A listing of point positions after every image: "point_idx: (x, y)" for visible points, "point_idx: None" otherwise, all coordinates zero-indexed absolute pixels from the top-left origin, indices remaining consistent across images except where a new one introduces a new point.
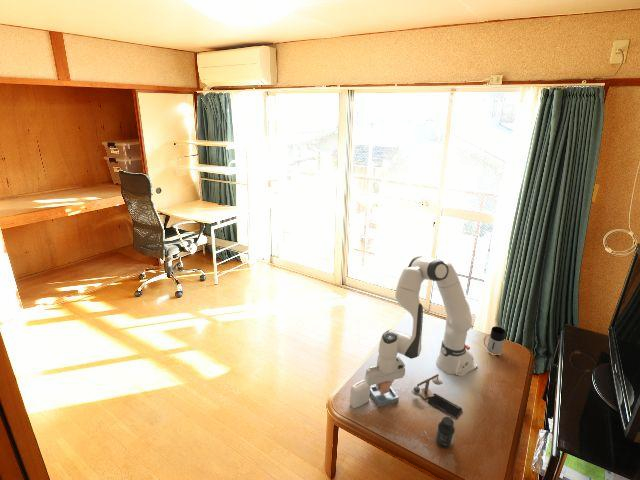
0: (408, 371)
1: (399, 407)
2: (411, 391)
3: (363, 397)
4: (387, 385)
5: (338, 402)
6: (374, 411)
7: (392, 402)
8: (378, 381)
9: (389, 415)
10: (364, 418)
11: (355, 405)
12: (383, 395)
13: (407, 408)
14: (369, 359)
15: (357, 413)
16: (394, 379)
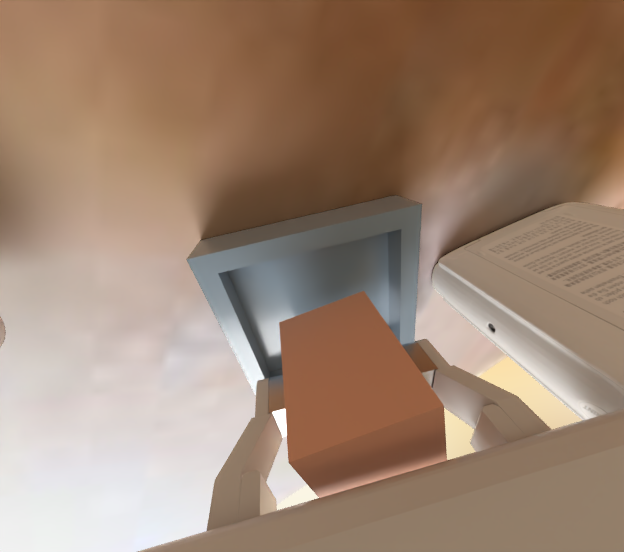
0: (84, 467)
1: (203, 162)
2: (2, 324)
3: (575, 256)
4: (337, 394)
5: None
6: (451, 149)
7: (262, 227)
8: (616, 494)
9: (343, 61)
10: (572, 77)
11: (594, 207)
12: (321, 297)
13: (105, 132)
14: (301, 486)
15: (576, 150)
16: (208, 536)
